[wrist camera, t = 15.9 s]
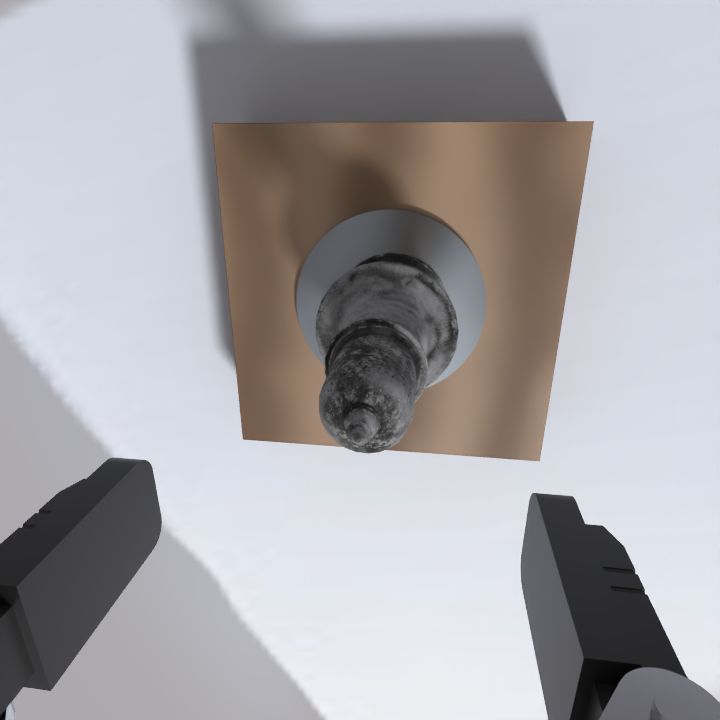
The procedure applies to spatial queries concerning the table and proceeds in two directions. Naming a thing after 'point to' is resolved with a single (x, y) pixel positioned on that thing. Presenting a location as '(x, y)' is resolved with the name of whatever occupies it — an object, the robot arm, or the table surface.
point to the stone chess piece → (381, 348)
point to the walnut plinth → (411, 237)
